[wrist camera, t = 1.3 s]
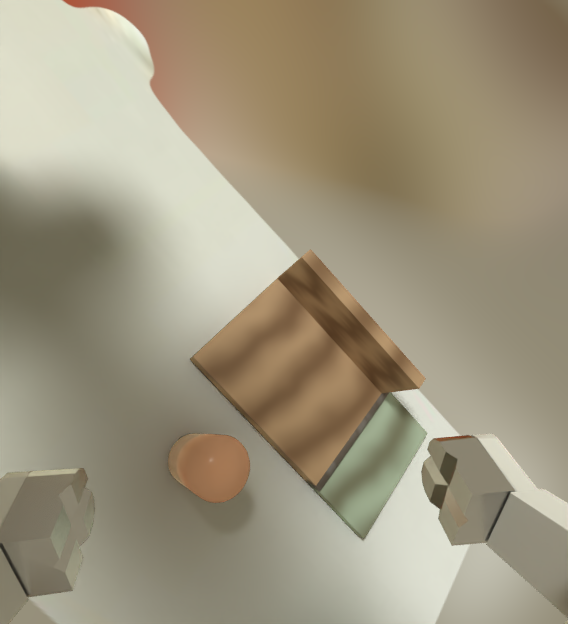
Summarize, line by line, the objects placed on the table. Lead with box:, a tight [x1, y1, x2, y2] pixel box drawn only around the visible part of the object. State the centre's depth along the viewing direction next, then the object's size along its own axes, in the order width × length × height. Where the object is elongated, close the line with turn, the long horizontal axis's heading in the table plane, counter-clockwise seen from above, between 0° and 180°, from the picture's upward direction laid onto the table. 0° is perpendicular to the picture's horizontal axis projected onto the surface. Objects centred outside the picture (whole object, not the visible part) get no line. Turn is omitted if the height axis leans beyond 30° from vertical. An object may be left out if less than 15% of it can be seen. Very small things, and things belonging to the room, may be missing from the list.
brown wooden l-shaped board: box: [190, 250, 427, 539], centre depth 46 cm, size 29×16×9 cm, turn 47°
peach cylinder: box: [168, 433, 250, 503], centre depth 37 cm, size 5×5×11 cm
